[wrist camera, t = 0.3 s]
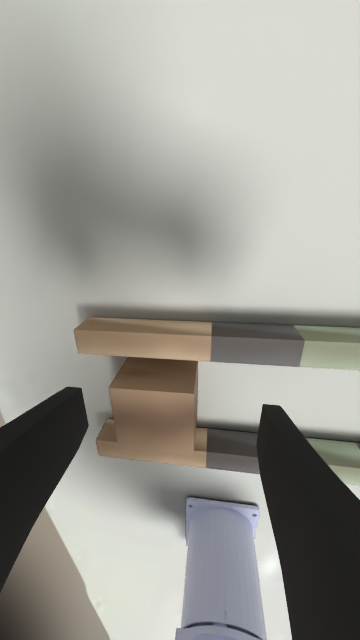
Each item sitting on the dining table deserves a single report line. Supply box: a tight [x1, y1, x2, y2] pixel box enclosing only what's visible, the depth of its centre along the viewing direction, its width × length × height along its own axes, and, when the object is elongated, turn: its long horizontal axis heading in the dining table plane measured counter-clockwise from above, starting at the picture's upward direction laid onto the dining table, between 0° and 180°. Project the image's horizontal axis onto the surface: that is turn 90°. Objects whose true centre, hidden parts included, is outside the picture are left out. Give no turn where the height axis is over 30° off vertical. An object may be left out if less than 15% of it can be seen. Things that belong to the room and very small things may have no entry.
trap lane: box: [74, 317, 360, 486], centre depth 19 cm, size 13×31×3 cm, turn 91°
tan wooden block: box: [109, 357, 198, 457], centre depth 19 cm, size 6×6×4 cm
